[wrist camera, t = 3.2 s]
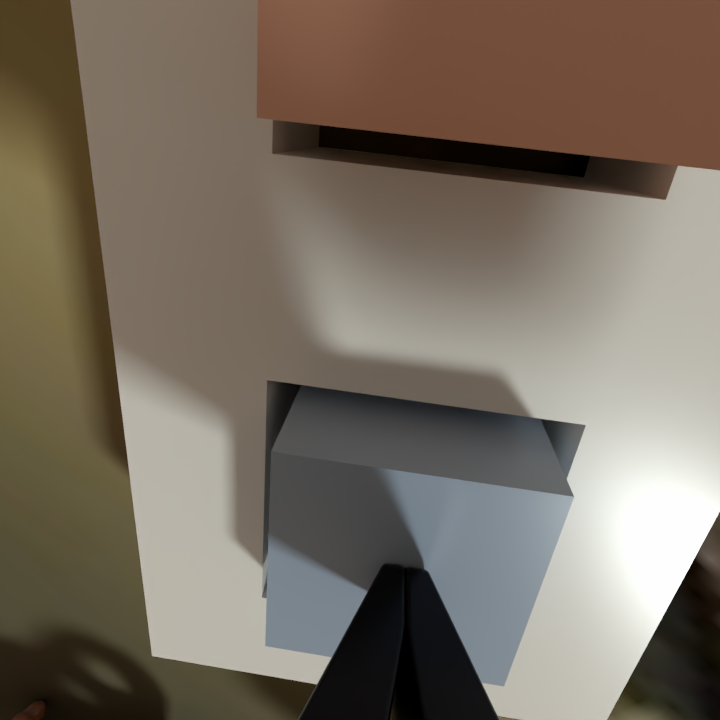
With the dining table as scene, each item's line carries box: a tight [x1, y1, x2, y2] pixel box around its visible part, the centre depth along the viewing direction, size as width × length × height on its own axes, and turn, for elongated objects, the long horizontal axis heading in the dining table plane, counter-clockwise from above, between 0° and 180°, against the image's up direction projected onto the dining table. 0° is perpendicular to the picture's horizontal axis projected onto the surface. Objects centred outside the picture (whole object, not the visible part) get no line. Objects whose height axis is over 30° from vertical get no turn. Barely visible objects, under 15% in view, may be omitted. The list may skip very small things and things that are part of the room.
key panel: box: [70, 0, 720, 720], centre depth 10 cm, size 12×22×4 cm, turn 174°
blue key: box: [265, 385, 574, 686], centre depth 11 cm, size 5×5×3 cm
